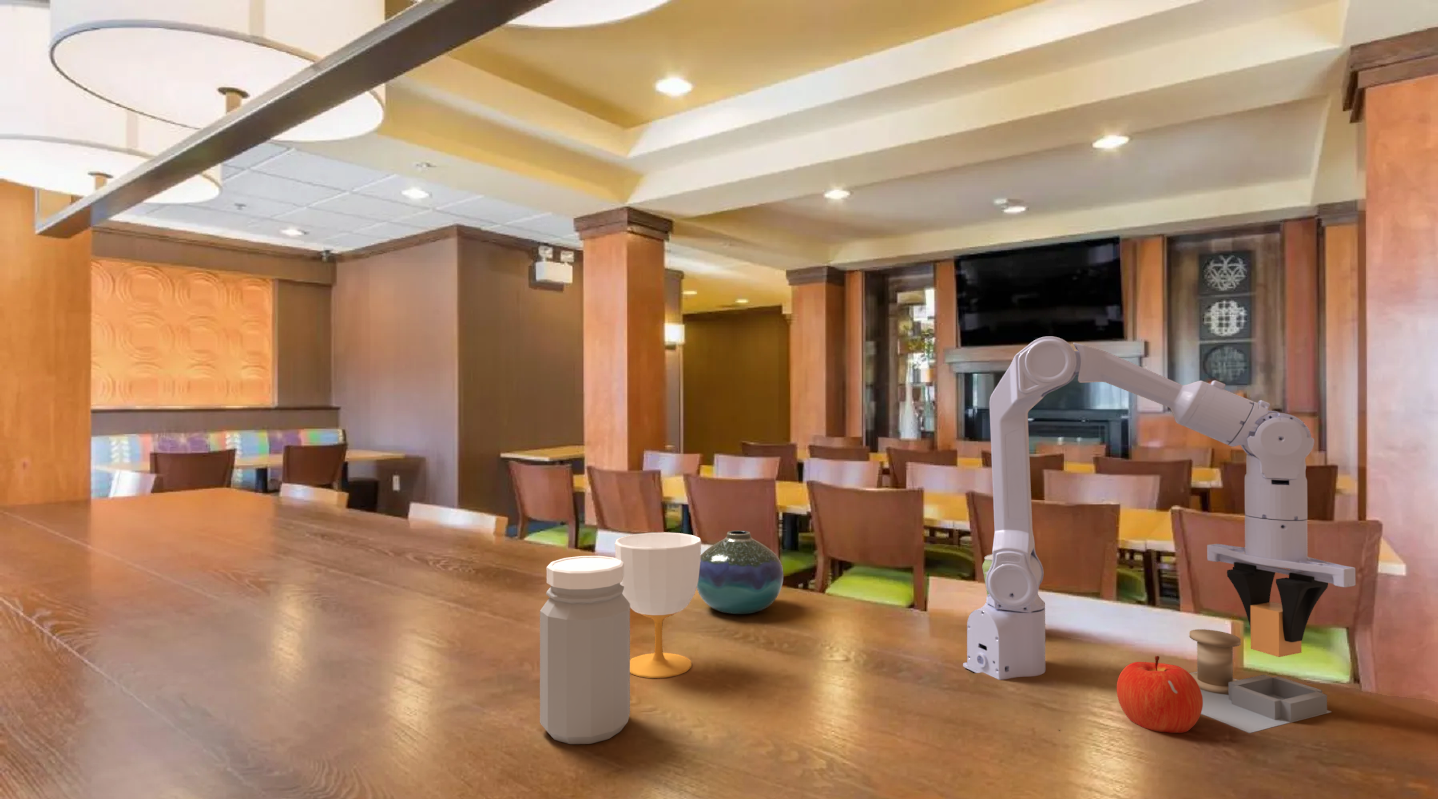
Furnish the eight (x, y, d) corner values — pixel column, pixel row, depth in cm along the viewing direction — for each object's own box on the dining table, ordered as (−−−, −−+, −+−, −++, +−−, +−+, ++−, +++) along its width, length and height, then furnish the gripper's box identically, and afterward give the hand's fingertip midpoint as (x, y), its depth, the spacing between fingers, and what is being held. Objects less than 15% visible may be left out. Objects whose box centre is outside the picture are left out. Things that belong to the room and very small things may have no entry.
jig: (1249, 740, 77) (1249, 713, 77) (1130, 691, 90) (1130, 669, 90) (1332, 718, 82) (1332, 693, 82) (1208, 675, 95) (1208, 654, 95)
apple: (1217, 748, 75) (1216, 670, 75) (1132, 742, 76) (1131, 665, 76) (1182, 716, 83) (1181, 645, 83) (1105, 711, 84) (1105, 641, 84)
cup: (648, 646, 107) (648, 529, 107) (717, 660, 101) (717, 536, 101) (596, 672, 97) (596, 543, 97) (670, 689, 91) (670, 551, 91)
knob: (1222, 697, 86) (1222, 645, 86) (1177, 680, 91) (1177, 631, 91) (1253, 690, 88) (1253, 639, 88) (1207, 674, 93) (1207, 626, 93)
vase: (728, 593, 137) (727, 522, 137) (799, 606, 128) (799, 530, 128) (676, 612, 124) (676, 534, 125) (751, 628, 115) (751, 544, 116)
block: (1279, 657, 81) (1278, 612, 81) (1250, 648, 84) (1250, 605, 84) (1301, 652, 83) (1301, 608, 83) (1273, 644, 86) (1272, 601, 86)
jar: (642, 713, 84) (642, 556, 84) (611, 752, 74) (611, 575, 74) (563, 705, 86) (563, 552, 86) (523, 743, 76) (523, 570, 77)
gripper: (1372, 524, 78) (1373, 651, 78) (1233, 506, 92) (1234, 615, 92) (1332, 528, 76) (1333, 659, 76) (1195, 510, 89) (1195, 621, 89)
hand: (1276, 635), depth 84 cm, fingers closed on block, 3 cm apart
